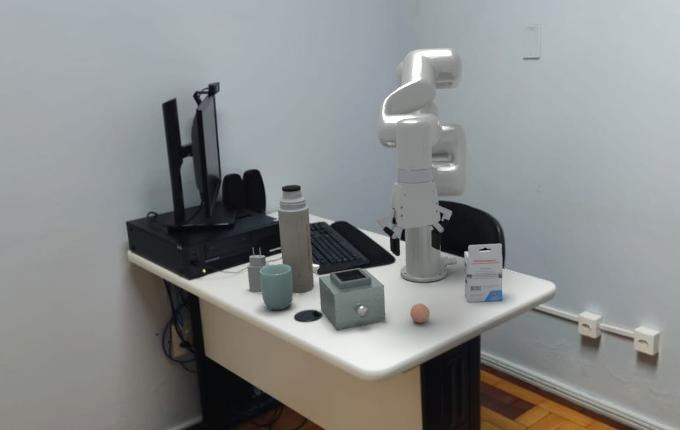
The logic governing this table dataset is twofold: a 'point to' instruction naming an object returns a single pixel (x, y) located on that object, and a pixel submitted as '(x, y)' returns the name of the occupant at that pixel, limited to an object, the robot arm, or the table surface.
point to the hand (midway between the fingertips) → (416, 251)
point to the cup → (276, 286)
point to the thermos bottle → (296, 238)
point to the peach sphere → (420, 313)
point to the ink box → (483, 273)
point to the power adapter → (255, 271)
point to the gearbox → (352, 298)
